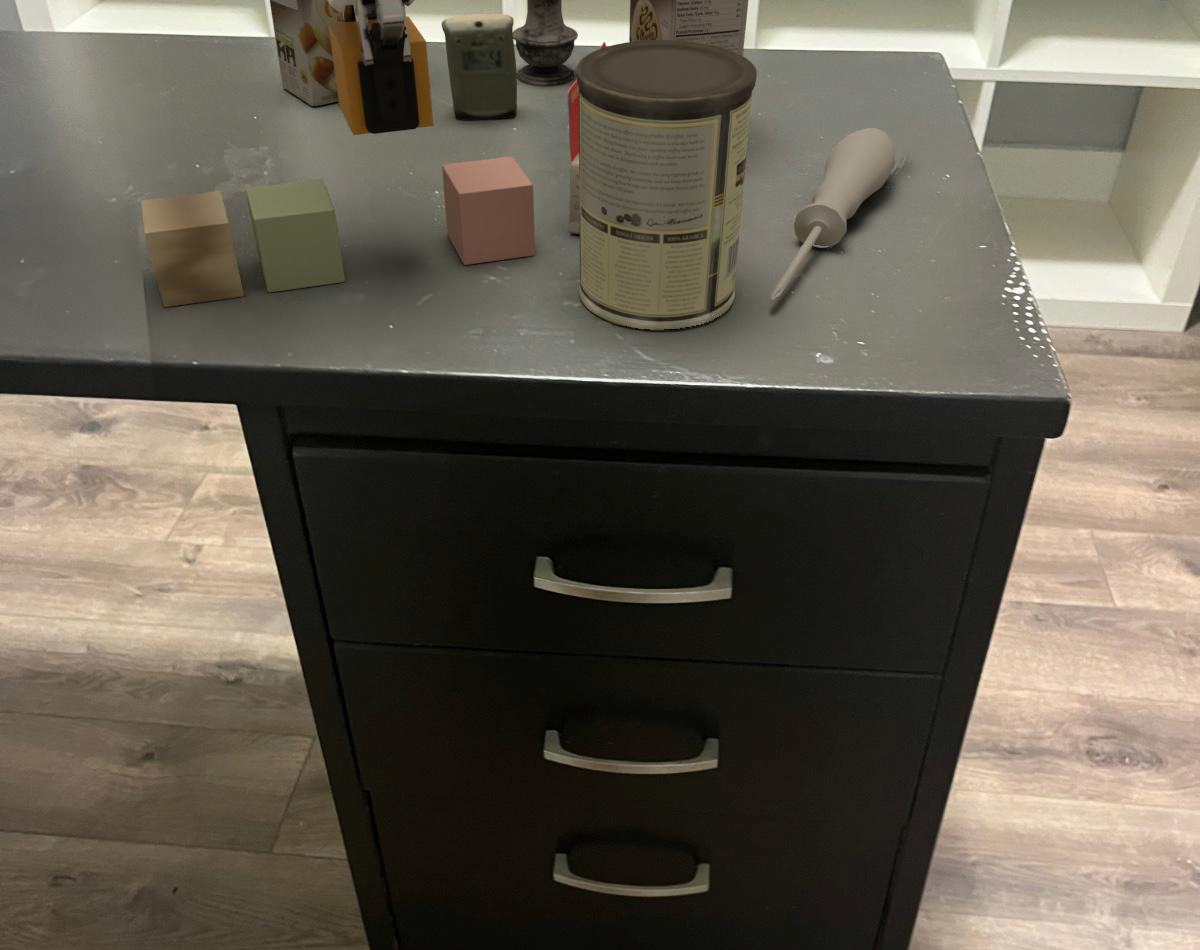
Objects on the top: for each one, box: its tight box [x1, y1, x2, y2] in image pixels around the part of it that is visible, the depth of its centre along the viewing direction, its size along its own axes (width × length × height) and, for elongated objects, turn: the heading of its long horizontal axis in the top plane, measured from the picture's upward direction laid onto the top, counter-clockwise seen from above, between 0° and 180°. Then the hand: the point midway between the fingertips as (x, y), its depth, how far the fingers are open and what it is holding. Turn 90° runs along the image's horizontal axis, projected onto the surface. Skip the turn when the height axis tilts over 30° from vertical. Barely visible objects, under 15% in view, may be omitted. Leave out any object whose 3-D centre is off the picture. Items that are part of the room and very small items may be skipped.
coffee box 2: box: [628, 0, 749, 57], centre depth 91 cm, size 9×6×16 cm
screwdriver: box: [770, 127, 896, 301], centre depth 82 cm, size 5×25×4 cm, turn 155°
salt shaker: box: [513, 0, 579, 87], centre depth 103 cm, size 6×6×12 cm
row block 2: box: [245, 178, 346, 293], centre depth 77 cm, size 5×5×5 cm
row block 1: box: [140, 190, 245, 308], centre depth 75 cm, size 5×5×5 cm
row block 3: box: [441, 156, 536, 266], centre depth 80 cm, size 5×5×5 cm
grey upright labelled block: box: [441, 13, 518, 121], centre depth 97 cm, size 6×5×8 cm
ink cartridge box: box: [566, 41, 607, 235], centre depth 83 cm, size 2×11×10 cm, turn 166°
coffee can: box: [575, 40, 758, 331], centre depth 72 cm, size 10×10×14 cm
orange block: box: [328, 15, 434, 136], centre depth 72 cm, size 5×5×5 cm
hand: (383, 110), depth 73 cm, fingers closed on orange block, 5 cm apart
